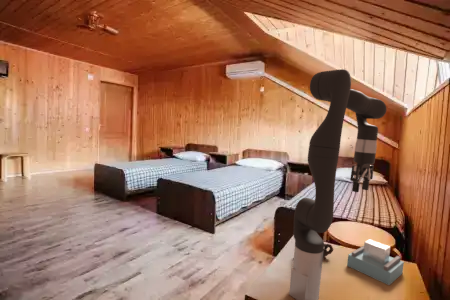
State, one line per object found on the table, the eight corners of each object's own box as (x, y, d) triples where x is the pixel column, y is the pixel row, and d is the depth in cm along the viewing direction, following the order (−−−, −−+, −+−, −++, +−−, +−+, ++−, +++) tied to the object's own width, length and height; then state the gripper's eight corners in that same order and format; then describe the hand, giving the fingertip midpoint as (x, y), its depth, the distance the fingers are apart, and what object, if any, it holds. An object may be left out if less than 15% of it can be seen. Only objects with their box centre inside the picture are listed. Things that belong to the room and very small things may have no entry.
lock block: (383, 264, 103) (385, 249, 102) (362, 255, 109) (364, 241, 108) (388, 260, 106) (390, 246, 105) (368, 252, 112) (369, 239, 112)
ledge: (389, 285, 97) (391, 268, 97) (347, 265, 110) (348, 251, 109) (402, 273, 106) (404, 258, 106) (362, 256, 119) (363, 242, 118)
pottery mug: (306, 259, 114) (303, 240, 117) (307, 260, 122) (304, 241, 125) (335, 258, 110) (331, 238, 114) (335, 259, 118) (331, 239, 122)
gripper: (367, 152, 97) (361, 195, 98) (382, 152, 105) (377, 191, 107) (347, 150, 102) (342, 190, 104) (363, 149, 111) (359, 187, 113)
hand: (360, 190), depth 106 cm, fingers open, 8 cm apart
